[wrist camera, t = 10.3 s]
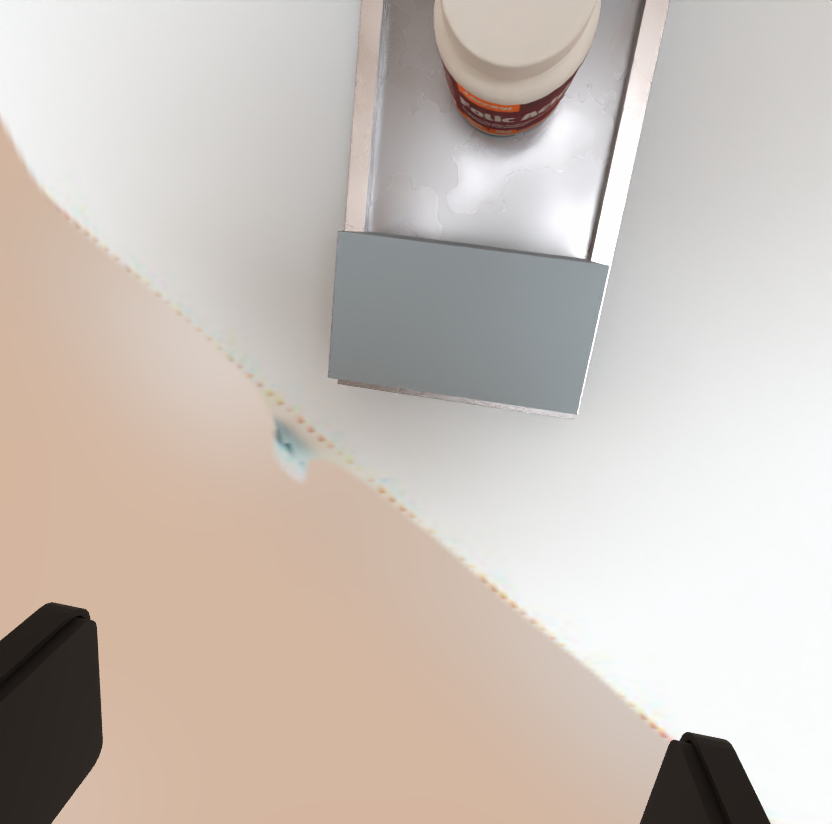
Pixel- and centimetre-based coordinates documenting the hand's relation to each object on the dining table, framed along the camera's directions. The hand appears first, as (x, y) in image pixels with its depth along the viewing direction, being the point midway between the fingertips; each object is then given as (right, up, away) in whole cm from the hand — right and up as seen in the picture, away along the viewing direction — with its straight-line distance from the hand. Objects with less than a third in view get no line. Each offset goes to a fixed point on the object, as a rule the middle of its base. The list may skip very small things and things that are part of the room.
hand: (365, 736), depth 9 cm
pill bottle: (+4, +18, +13) cm, 23 cm away
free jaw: (+3, +10, +15) cm, 18 cm away
